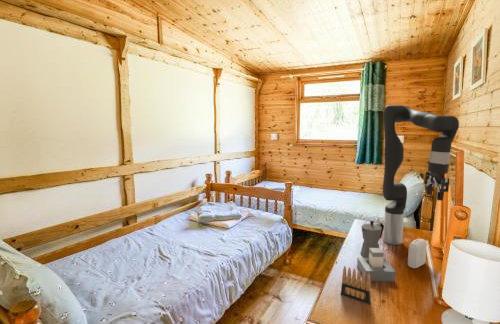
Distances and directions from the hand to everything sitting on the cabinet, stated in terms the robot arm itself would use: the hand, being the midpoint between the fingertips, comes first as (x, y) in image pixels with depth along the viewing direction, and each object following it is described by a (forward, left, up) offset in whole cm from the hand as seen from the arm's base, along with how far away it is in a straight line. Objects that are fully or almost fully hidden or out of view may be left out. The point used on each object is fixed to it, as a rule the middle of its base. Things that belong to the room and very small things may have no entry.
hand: (434, 197), depth 126 cm
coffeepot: (-10, -22, -33) cm, 41 cm away
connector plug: (+8, -27, -32) cm, 42 cm away
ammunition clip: (+26, -41, -33) cm, 59 cm away
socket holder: (+8, -27, -33) cm, 43 cm away
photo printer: (-1, -5, -33) cm, 33 cm away
